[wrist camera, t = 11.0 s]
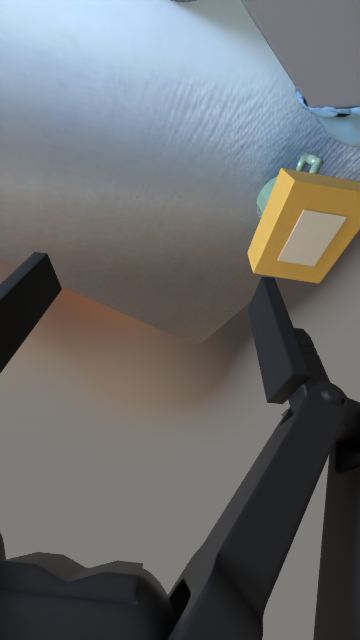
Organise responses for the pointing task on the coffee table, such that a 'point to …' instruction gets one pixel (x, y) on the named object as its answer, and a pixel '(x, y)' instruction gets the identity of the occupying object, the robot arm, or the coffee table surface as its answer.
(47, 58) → the coffee table surface
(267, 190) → the cup
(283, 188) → the tea packet
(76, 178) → the coffee table surface
